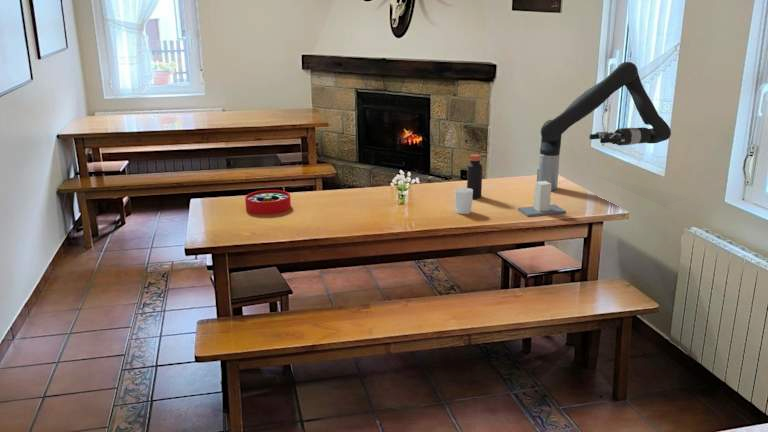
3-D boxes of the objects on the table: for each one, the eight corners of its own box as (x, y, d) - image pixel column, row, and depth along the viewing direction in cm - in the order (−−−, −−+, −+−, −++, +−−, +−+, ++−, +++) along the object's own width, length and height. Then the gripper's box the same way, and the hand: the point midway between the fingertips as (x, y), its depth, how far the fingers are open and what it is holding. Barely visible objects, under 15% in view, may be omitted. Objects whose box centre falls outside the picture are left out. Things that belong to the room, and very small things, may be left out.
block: (539, 211, 299) (540, 184, 295) (533, 208, 303) (535, 181, 299) (549, 210, 300) (551, 183, 296) (544, 207, 304) (545, 180, 301)
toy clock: (276, 204, 297) (236, 200, 304) (277, 217, 299) (237, 212, 306) (297, 192, 315) (259, 188, 322) (298, 204, 317) (260, 200, 323)
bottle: (480, 199, 321) (482, 157, 314) (466, 198, 322) (467, 156, 316) (481, 195, 327) (483, 153, 321) (467, 194, 328) (468, 153, 322)
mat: (527, 216, 295) (527, 214, 295) (517, 209, 304) (517, 207, 304) (565, 213, 299) (565, 210, 299) (554, 206, 308) (555, 204, 308)
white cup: (474, 210, 305) (474, 188, 302) (470, 215, 298) (470, 193, 294) (456, 208, 307) (457, 187, 304) (452, 213, 300) (452, 191, 297)
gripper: (618, 125, 311) (587, 127, 307) (638, 131, 298) (605, 133, 294) (617, 141, 314) (585, 144, 310) (636, 148, 301) (603, 150, 297)
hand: (595, 138), depth 302 cm, fingers open, 8 cm apart
